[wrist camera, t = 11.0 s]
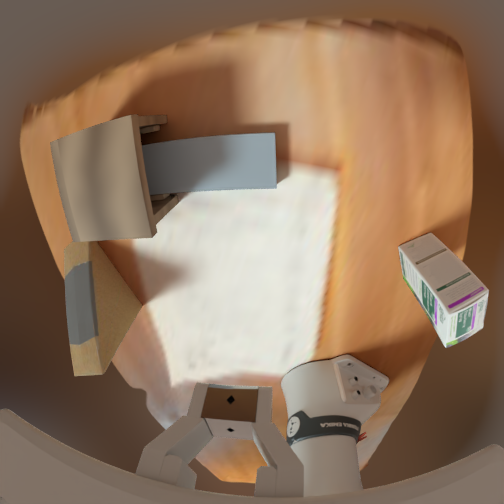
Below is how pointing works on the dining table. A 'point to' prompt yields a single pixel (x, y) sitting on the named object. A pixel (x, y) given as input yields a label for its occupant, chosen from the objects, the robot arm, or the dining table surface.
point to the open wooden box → (109, 181)
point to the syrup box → (444, 288)
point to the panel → (211, 163)
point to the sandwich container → (95, 307)
